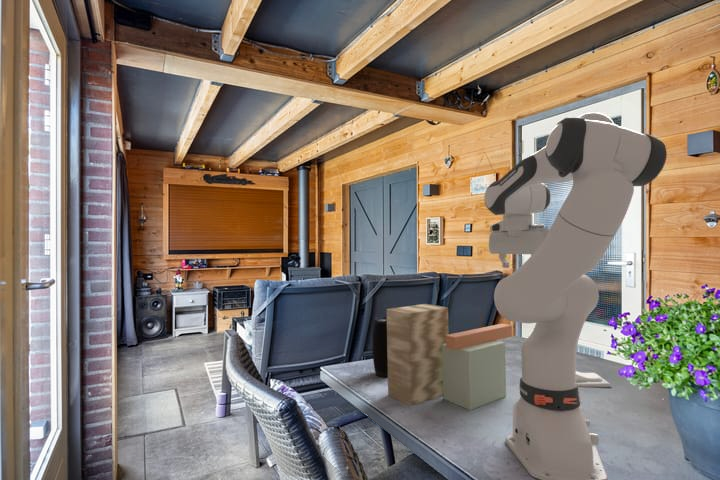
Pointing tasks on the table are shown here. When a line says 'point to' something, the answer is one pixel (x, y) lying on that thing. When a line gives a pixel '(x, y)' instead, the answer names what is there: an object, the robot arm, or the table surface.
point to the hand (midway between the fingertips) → (518, 268)
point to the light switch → (590, 380)
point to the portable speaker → (380, 346)
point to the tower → (416, 352)
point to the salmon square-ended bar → (478, 336)
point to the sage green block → (474, 374)
